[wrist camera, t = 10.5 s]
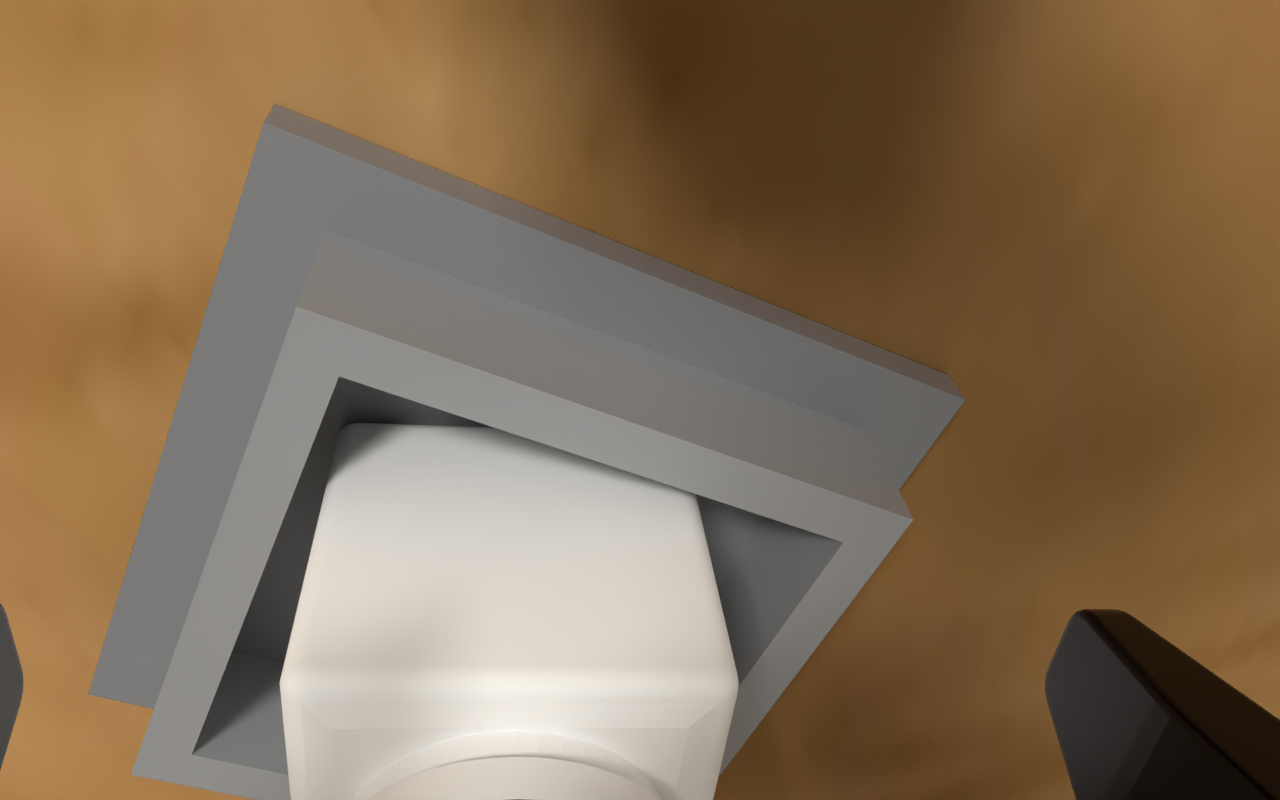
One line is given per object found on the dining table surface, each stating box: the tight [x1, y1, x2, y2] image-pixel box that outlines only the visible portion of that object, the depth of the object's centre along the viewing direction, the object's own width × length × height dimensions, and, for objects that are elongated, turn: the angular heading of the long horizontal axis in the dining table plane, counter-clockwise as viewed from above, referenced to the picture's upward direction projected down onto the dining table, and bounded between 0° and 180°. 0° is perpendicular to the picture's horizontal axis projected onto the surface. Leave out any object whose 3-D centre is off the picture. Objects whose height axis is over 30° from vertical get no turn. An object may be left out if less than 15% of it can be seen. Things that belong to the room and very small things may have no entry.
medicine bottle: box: [279, 423, 739, 800], centre depth 19 cm, size 7×7×12 cm
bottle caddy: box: [88, 104, 965, 800], centre depth 23 cm, size 15×15×4 cm
